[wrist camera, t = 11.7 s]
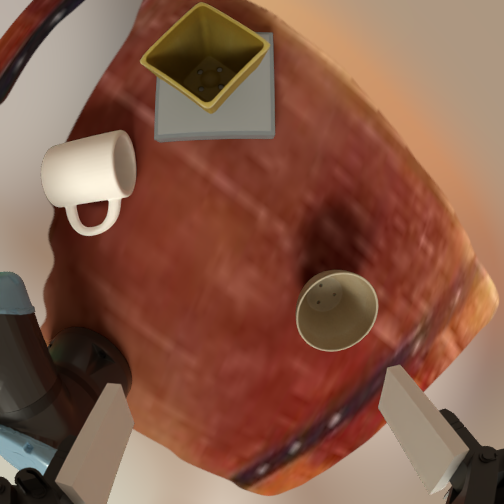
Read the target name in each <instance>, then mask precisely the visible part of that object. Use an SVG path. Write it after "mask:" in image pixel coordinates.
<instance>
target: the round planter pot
mask: <svg viewBox="0 0 504 504" xmlns="http://www.w3.org/2000/svg"><path fill="white" fill-rule="evenodd" d="M319 285H321V287H320V286H319ZM333 293H335V294H333ZM319 302H320V303H319ZM377 312H378V299H377V295H376V292H375V290H374V288H373V287H372V285H371V284H370V283H369V282H368V281H367V280H366V279H364V278H363V277H361V276H359V275H357V274H355V273H352V272H349V271H344V270H329V271H325V272H322V273H319V274H317V275H315V276H314V277H312V278H311V279H310V280H309V281H308V282H307V283H306V284H305V285H304V287H303V289H302V290H301V292H300V295H299V297H298V301H297V306H296V323H297V328H298V331H299V333H300V335H301V336H302V338H303V339H304V340H305V341H306V342H307V343H308V344H309V345H310V346H312V347H314V348H316V349H319V350H323V351H339V350H343V349H346V348H349V347H351V346H353V345H355V344H356V343H358V342H359V341H360V340H362V339H363V338H364V337H365V336H366V335H367V334H368V332H369V331H370V330H371V328H372V326H373V325H374V322H375V320H376V317H377Z"/></svg>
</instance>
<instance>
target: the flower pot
mask: <svg viewBox="0 0 504 504" xmlns="http://www.w3.org/2000/svg"><path fill="white" fill-rule="evenodd" d="M270 46H271V45H270V43H269V42H268V41H267V40H265V39H264V38H263V37H261V36H260V35H258V34H257V33H255V32H254V31H252V30H251V29H249V28H247V27H246V26H244V25H243V24H241V23H239V22H238V21H236V20H234V19H233V18H231V17H229V16H228V15H226V14H224V13H223V12H221V11H219V10H218V9H216V8H214V7H212V6H210V5H208V4H206V3H203V2H200V3H198V4H196V5H195V6H194V7H193V8H191V9H190V10H189V11H188V12H187V13H186V14H185V15H184V16H183V17H182V18H180V19H179V20H178V21H177V22H176V23H175V24H174V25H173V26H172V27H171V28H170V29H169V30H168V31H167V32H166V33H165V34H164V35H163V36H162V37H161V38H160V39H159V40H157V41H156V42H155V44H154V45H153V46H152V47H151V48H150V49H149V50H148V51H147V52H146V53H145V54H144V55H143V57H142V58H141V60H140V63H141V64H142V65H144V66H145V67H146V68H147V69H149V70H150V71H151V72H152V73H153V74H155V75H156V76H157V77H158V78H160V79H161V80H163V81H164V82H166V83H168V84H169V85H171V86H172V87H173V88H175V89H176V90H178V91H179V92H181V93H182V94H183V95H185V96H186V97H188V98H189V99H190V100H192V101H193V102H194V103H196V104H197V105H198V106H199V107H201V108H202V109H203V110H205V111H206V112H207V113H209V114H213V113H215V112H216V111H217V110H218V108H219V107H220V106H221V105H222V104H223V103H224V102H225V100H226V99H227V98H228V97H229V96H230V95H231V94H232V93H233V92H234V91H235V90H236V89H237V87H238V86H239V85H240V84H241V83H242V82H243V81H244V80H245V79H246V78H247V77H248V76H249V75H250V74H251V73H252V72H253V71H254V70H256V68H257V67H258V66H259V65H260V63H261V62H262V60H263V58H264V56H265V55H266V53H267V51H268V50H269V48H270ZM218 68H221V69H222V71H221V72H218V71H217V69H218ZM199 70H202V71H203V72H202V74H198V71H199ZM219 85H223V89H219ZM200 87H203V88H204V90H203V91H199V88H200Z"/></svg>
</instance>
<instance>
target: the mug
mask: <svg viewBox="0 0 504 504" xmlns="http://www.w3.org/2000/svg"><path fill="white" fill-rule="evenodd" d="M41 181H42V186H43V189H44V193H45V195H46V197H47V199H48V200H49V201H50V203H51V204H53V205H54V206H56V207H65V209H66V213H67V217H68V220H69V222H70V224H71V226H72V227H73V229H74V230H75V231H76V232H78V233H79V234H82V235H85V236H93V235H97V234H100V233H102V232H104V231H106V230H108V229H109V228H110V227H111V226H112V225H113V224H114V223H115V221H116V220H117V218H118V216H119V213H120V207H121V199H122V198H125V197H128V196H130V195H131V193H132V192H133V190H134V187H135V182H136V158H135V152H134V148H133V144H132V141H131V139H130V137H129V135H128V134H127V133H126V132H125V131H123V130H118V131H113V132H108V133H103V134H99V135H94V136H90V137H86V138H82V139H78V140H74V141H70V142H66V143H63V144H60V145H56V146H53V147H51V148H50V149H49V150H48V151H47V152H46V154H45V156H44V158H43V161H42V166H41ZM104 200H108V201H109V207H108V213H107V216H106V218H105V220H104V222H103V223H102V224H100V225H98V226H96V227H85V226H84V225H83V224H82V223H81V221H80V219H79V216H78V213H77V207H76V206H77V205H78V204H84V203H90V202H97V201H104Z"/></svg>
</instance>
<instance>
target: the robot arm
mask: <svg viewBox="0 0 504 504" xmlns="http://www.w3.org/2000/svg"><path fill="white" fill-rule="evenodd" d="M34 312H35V308H34V306H32V304H31V302H30V299H29V296H28V293H27V290H26V288H25V285H24V282H23V280H22V279H21V278H20V277H19V276H18V275H17V274H15V273H13V272H0V455H1V456H2V457H3V458H4V459H5V460H6V461H8V462H9V463H10V464H11V465H13V466H14V467H15V468H17V469H18V470H20V471H19V472H18V473H17V474H16V476H15V483H16V484H17V485H11V484H10V482H9V481H8V480H7V479H5V478H4V477H0V504H107V501H108V498H109V495H110V492H111V488H112V486H113V483H114V479H115V477H116V474H117V471H118V468H119V465H120V462H121V459H122V456H123V454H124V451H125V448H126V445H127V442H128V440H129V437H130V434H131V431H132V429H133V426H134V421H133V418H132V415H131V413H130V410H129V407H128V404H127V401H126V397H127V395H128V393H129V391H130V389H131V384H132V377H131V372H130V369H129V366H128V364H127V362H126V360H125V358H124V357H123V355H122V354H121V353H120V351H119V350H118V349H117V348H116V347H115V346H114V345H113V344H112V343H111V342H110V341H109V340H107V339H106V338H105V337H103V336H102V335H100V334H98V333H96V332H94V331H92V330H89V329H86V328H82V327H70V328H66V329H64V330H62V331H61V332H60V333H58V334H57V335H56V336H55V337H54V338H53V339H52V341H51V342H50V344H49V346H48V347H47V345H46V343H45V340H44V338H43V335H42V332H41V330H40V327H39V324H38V322H37V319H36V316H35V313H34ZM378 408H379V410H380V411H381V413H382V415H383V416H384V418H385V420H386V421H387V423H388V425H389V426H390V428H391V430H392V431H393V433H394V435H395V436H396V438H397V440H398V441H399V443H400V445H401V447H402V448H403V450H404V452H405V453H406V455H407V457H408V459H409V460H410V462H411V464H412V465H413V467H414V469H415V470H416V472H417V474H418V476H419V478H420V479H421V481H422V483H423V484H424V486H425V488H426V490H427V492H428V493H429V494H430V495H431V494H433V493H435V492H437V491H440V490H442V489H444V488H445V486H446V485H447V483H448V482H449V481H450V482H451V484H452V487H451V488H450V489H449V490H448V492H447V493H446V494H445V496H444V499H446V497H447V496H448V498H447V501H446V504H504V449H500V450H495V449H494V448H493V447H489V446H481V445H480V444H479V443H478V442H477V440H476V439H475V438H474V437H473V436H472V434H471V433H470V432H469V431H468V430H467V428H466V427H464V425H463V424H462V423H461V422H460V421H459V419H458V418H457V417H456V415H455V414H454V413H452V412H450V411H449V410H447V409H442V410H440V411H438V410H437V408H436V407H435V406H434V405H433V403H432V402H431V401H430V400H429V399H428V397H427V396H426V395H425V394H424V393H423V391H422V390H421V389H420V388H419V387H418V385H417V384H416V383H415V382H414V381H413V379H412V378H411V377H410V376H409V375H408V374H407V372H406V371H405V370H404V369H403V368H402V367H401V365H398V366H393V367H388V368H387V372H386V377H385V381H384V386H383V390H382V394H381V398H380V402H379V406H378Z"/></svg>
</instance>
